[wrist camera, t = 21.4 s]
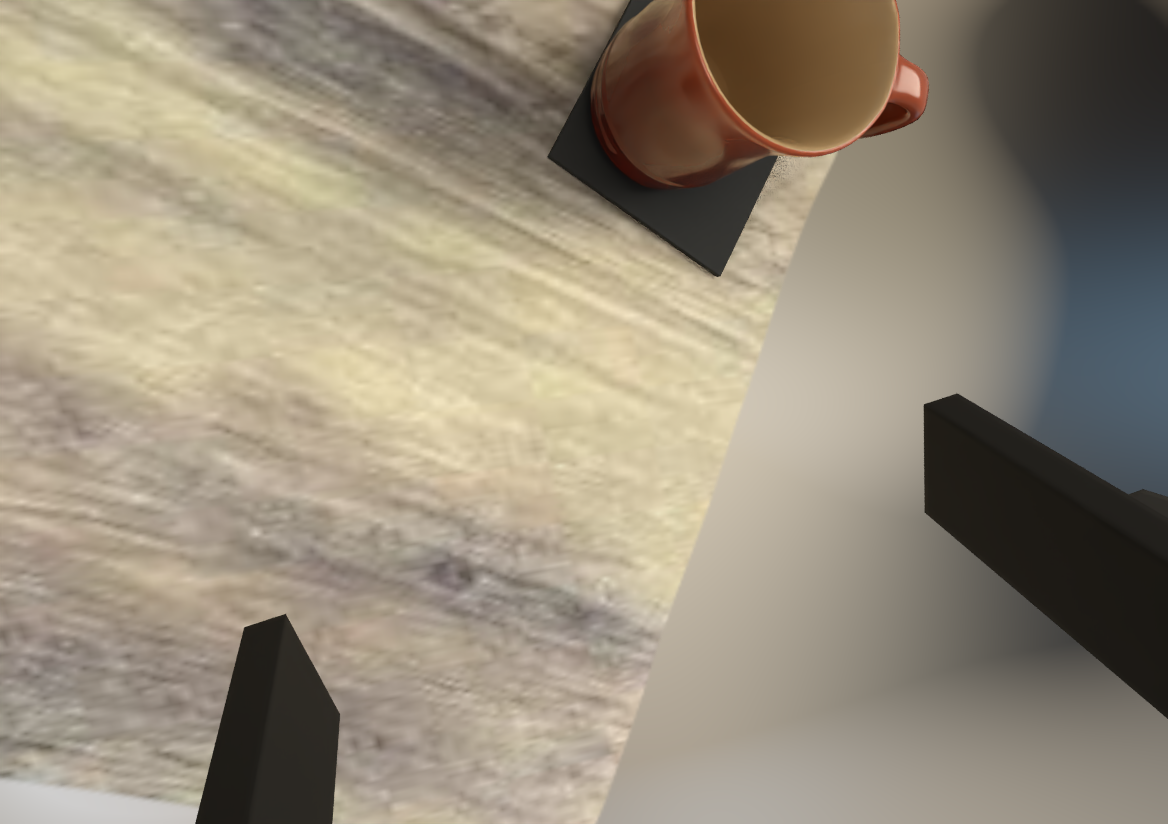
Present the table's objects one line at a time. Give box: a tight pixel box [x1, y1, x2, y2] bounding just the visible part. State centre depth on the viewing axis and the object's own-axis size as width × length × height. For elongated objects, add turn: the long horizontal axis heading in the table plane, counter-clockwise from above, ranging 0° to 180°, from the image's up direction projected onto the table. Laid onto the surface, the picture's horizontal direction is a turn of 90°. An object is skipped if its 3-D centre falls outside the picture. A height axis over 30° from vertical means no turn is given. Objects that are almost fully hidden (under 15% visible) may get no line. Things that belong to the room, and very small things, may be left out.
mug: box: [590, 0, 929, 190], centre depth 30 cm, size 12×9×10 cm
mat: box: [548, 0, 778, 277], centre depth 35 cm, size 10×10×1 cm
